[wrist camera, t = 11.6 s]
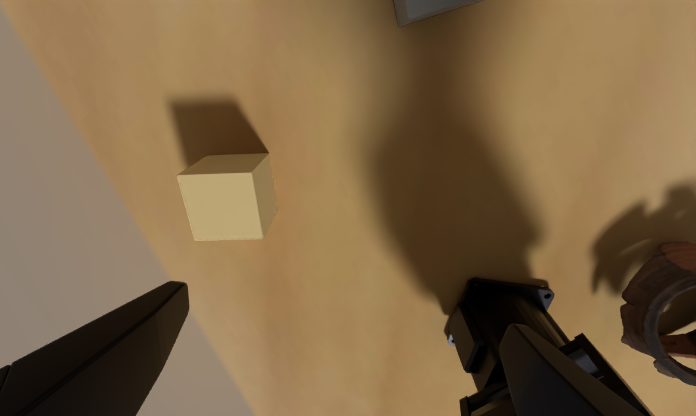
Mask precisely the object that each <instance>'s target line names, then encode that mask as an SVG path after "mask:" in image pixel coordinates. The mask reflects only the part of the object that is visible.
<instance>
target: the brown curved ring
mask: <svg viewBox="0 0 696 416" xmlns="http://www.w3.org/2000/svg"><path fill="white" fill-rule="evenodd" d="M659 250H660V252H661V254H656V255H654V256H652V258H651V259H650V260H648V261H647V262H646V263H645V264H644V265H643V266H642V268H641V269H640V270H639V271H638V272H637V273H636V274H635V276H634V277H633V278H632V279H631V281H630V282H629V284H628V286H627V287H626V289H625V290H624V291H623V293H622V298H623V299H624V300H625V301H626V302H627V303H626V304H624V305H622V306H621V307H620V313H621V319H622V324H623V330H624V331H623V336H622V338H621V341H622V343H625V344H627V345H628V346H630V347H631V348H633V349H635V350H637V351H639V352H642V353H644V354H647V355H650V356H652V357H653V358H655V359H656V360H655V361H654V362H653V363H654V366H655V368H657V371H658V372H659V373H662V374H664V375H667V376H669V377H672V378H678V379H680V380H681V381H682V382H684V383H686V384H689V385H693V386H696V370H693V369H691V368H688V367H686V366H684V365H682V364H681V363H679V362H677V361H676V360H675V359H673V358H672V357H671V356H676V357H686V358H695V359H696V329H695V330H693V331H691V332H688V333H686V334H679V335H658V331H657V327H658V321H659V317H660V314H661V313H662V312H663V310H664V308H665V307H666V305H667V304H668V303H669V302H670V301H671V300H673V299H674V298H675V297H676V296H678V295H680V294H681V293H683V292H685V291H688V290H690V289H693V288H696V245H695V244H691V243H689V242H676V243H667V244H662V245H661V246H660V249H659Z"/></svg>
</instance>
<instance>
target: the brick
mask: <svg viewBox="0 0 696 416" xmlns="http://www.w3.org/2000/svg"><path fill="white" fill-rule="evenodd" d="M177 179H178V182H179V186H180V190H181V193H182V197H183V200H184V204H185V208H186V211H187V215H188V218H189V222H190V226H191V229H192V233H193V237H194V240H195V241H208V240H242V239H263V238H264V236H265V234H266V232H267V230H268V228H269V226H270V224H271V222H272V220H273V218H274V216H275V214H276V212H277V210H278V209H277V202H276V196H275V189H274V182H273V175H272V168H271V161H270V154H269V153H257V154H230V155H207V156H205V157H204V158H202V159H201V160H199V161H198V162H196V163H195V164H193V165H192V166H190V167H188V168H187V169H185V170H184V171H182V172H181V173H179V174H178V175H177Z"/></svg>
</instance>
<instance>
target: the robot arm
mask: <svg viewBox="0 0 696 416" xmlns="http://www.w3.org/2000/svg"><path fill="white" fill-rule="evenodd" d="M474 284H477V285H475V286H473V285H474ZM545 294H547V295H545ZM553 298H554V293H553V291H552V290H551V289H550V288H547V287H540V286H533V285H525V284H518V283H510V282H503V281H495V280H488V279H480V278H472V279H470V280H468V282H467V284H466V287H465V290H464V292H463V295H462V298H461V301H460V302H459V303H458V304H457V306H456V309H455V311H454V314H453V317H452V319H451V322H450V325H449V333H448V336H447V340H448V343H449V344H450V345H452V346H455V347H456V349H457V352H458V355H459V358H460V361H461V363H462V366H463V369H464V370H465V372H466V373H471V375H472V377H473V380H474V383H475V385H476V388H477V391H478V392H477V393H475V394H473V395H471V396H469V397H468V396H466V397H464V398H462V399H460V410H461V416H654V415H653V413H652V412H651V411H650V410H649V409H648V407H647V406H646V405H645V404H644V403H643V402H642V400H641V399H640V398H639V397H638V396H637V395H636V393H635V392H634V391H633V390H632V389H631V388H630V386H629V385H628V384H627V383H626V382H625V381H624V379H623V378H622V377H621V376H620V375H619V374H618V372H617V371H616V370H615V369H614V368H613V367H612V366H611V364H610V363H609V362H608V361H607V360H606V359H605V358H604V357H603V355H602V354H601V353H600V352H599V351H598V350H597V349H596V348H595V346H594V345H593V344H592V343H591V342H590V341H589V340H588V339H587V337H586V336H585V335H584V334H583V333H581V334H579V335H578V336H576V337H574V338H575V339H574V340H572V341H570V340H569V339H568V338H567V336H566V335H565V334H564V333H563V331H562V330H561V329H560V327H559V326H558V325H557V323H556V322H555V321H554V320H553V318H552V317H551V316H550V314H549V313H548V312H547V309H548V308H549V306H550V304H551V302H552V300H553ZM188 311H189V296H188V286H187V284H186V283H185V282H179V281H169V282H167V283H165V284H163V285H161V286H159V287H157V288H155V289H153V290H151V291H150V292H147V293H146V294H144V295H142V296H140V297H138V298H136V299H134V300H132V301H130V302H128V303H126V304H124V305H122V306H121V307H119V308H117V309H115V310H113V311H111V312H109V313H107V314H105V315H103V316H102V317H99V318H97V319H96V320H94V321H92V322H90V323H88V324H86V325H84V326H82V327H80V328H78V329H76V330H74V331H73V332H70V333H68V334H67V335H65V336H63V337H61V338H59V339H57V340H55V341H53V342H51V343H49V344H47V345H45V346H43V347H41V348H40V349H38V350H36V351H34V352H32V353H30V354H28V355H26V356H24V357H22V358H20V359H18V360H17V361H14V362H13V363H12V364H11V365H6V366H5V367H3V368H1V369H0V416H136V414H137V412H138V411H139V409H140V407H141V406H142V404H143V402H144V401H145V399H146V397H147V395H148V394H149V392H150V390H151V389H152V387H153V385H154V383H155V382H156V380H157V378H158V377H159V375H160V373H161V371H162V369H163V367H164V365H165V363H166V361H167V359H168V357H169V355H170V352H171V350H172V348H173V346H174V344H175V341H176V339H177V337H178V334H179V332H180V330H181V328H182V326H183V323H184V321H185V319H186V317H187V315H188Z"/></svg>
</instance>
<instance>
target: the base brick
mask: <svg viewBox="0 0 696 416" xmlns="http://www.w3.org/2000/svg"><path fill="white" fill-rule="evenodd" d="M479 1H482V0H394V5H395V10H396V15H397V21H398V26H399V27H400V26H403V25H406V24H409V23H412V22H416V21H419V20H422V19H425V18H428V17H431V16H435V15H438V14H441V13H444V12H447V11H450V10H454V9H457V8H460V7H463V6H466V5H470V4H473V3H476V2H479Z"/></svg>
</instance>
